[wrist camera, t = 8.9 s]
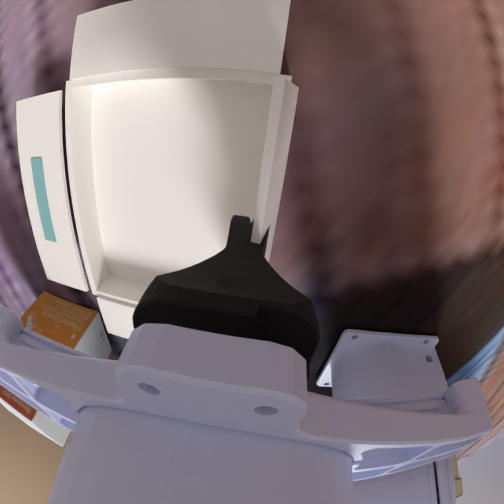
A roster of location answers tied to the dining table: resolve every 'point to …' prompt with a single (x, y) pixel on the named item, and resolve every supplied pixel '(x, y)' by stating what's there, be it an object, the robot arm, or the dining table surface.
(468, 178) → the dining table surface
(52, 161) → the flap
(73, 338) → the small box
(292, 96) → the flap
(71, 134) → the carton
